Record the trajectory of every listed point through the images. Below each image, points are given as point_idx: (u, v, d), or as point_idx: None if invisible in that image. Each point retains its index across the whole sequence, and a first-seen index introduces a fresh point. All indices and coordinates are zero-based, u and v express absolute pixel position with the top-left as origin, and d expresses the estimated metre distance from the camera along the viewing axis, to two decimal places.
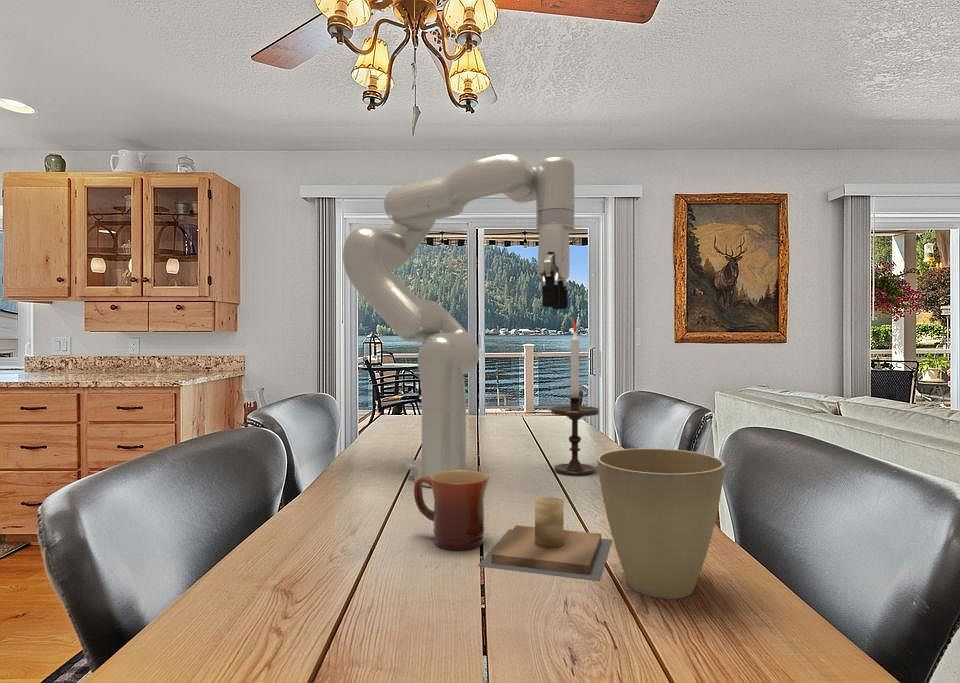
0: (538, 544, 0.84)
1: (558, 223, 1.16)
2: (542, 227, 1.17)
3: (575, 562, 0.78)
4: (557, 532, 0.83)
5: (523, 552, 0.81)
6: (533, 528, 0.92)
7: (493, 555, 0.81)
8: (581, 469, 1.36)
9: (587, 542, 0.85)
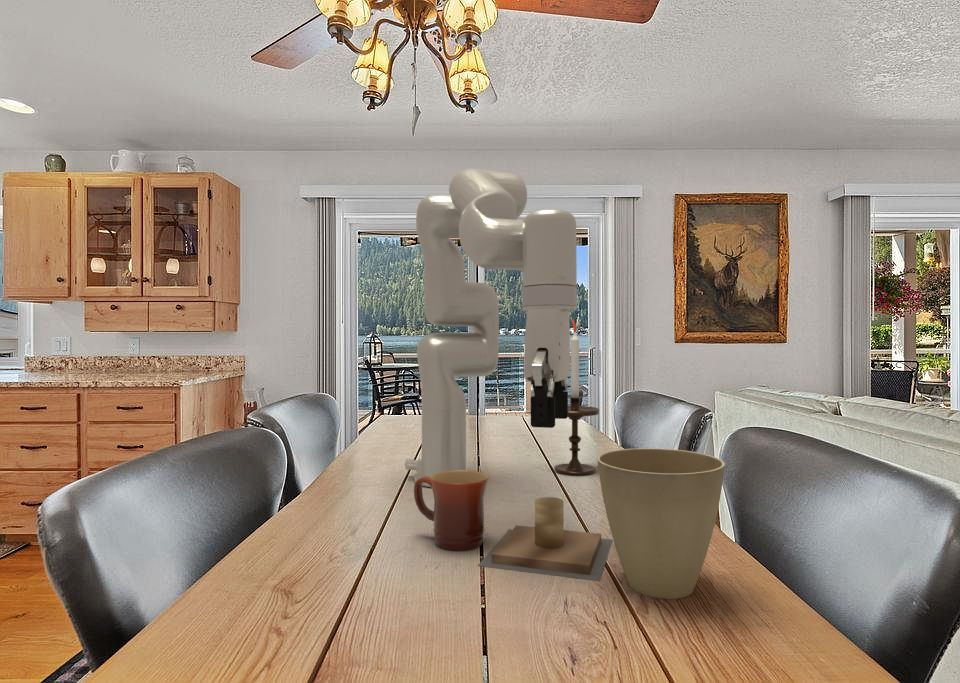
0: (538, 544, 0.84)
1: (553, 305, 0.81)
2: (530, 311, 0.81)
3: (575, 562, 0.78)
4: (557, 532, 0.83)
5: (523, 552, 0.81)
6: (533, 528, 0.92)
7: (493, 555, 0.81)
8: (581, 469, 1.36)
9: (587, 542, 0.85)
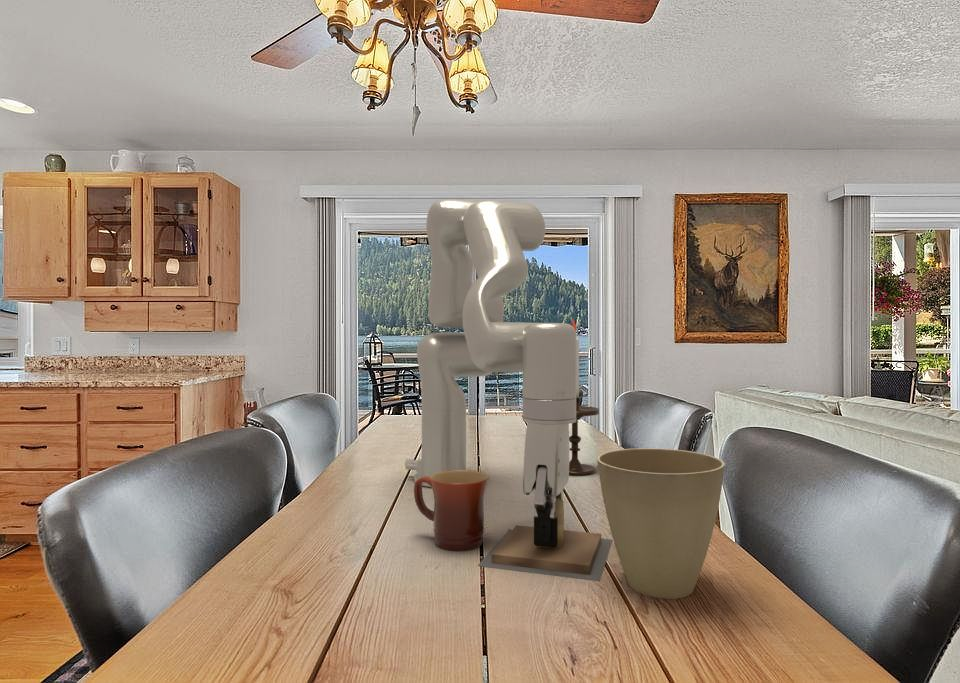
0: None
1: (553, 421, 0.81)
2: (530, 426, 0.81)
3: (575, 562, 0.78)
4: None
5: (523, 552, 0.81)
6: (533, 528, 0.92)
7: (493, 555, 0.81)
8: (581, 469, 1.36)
9: (587, 542, 0.85)
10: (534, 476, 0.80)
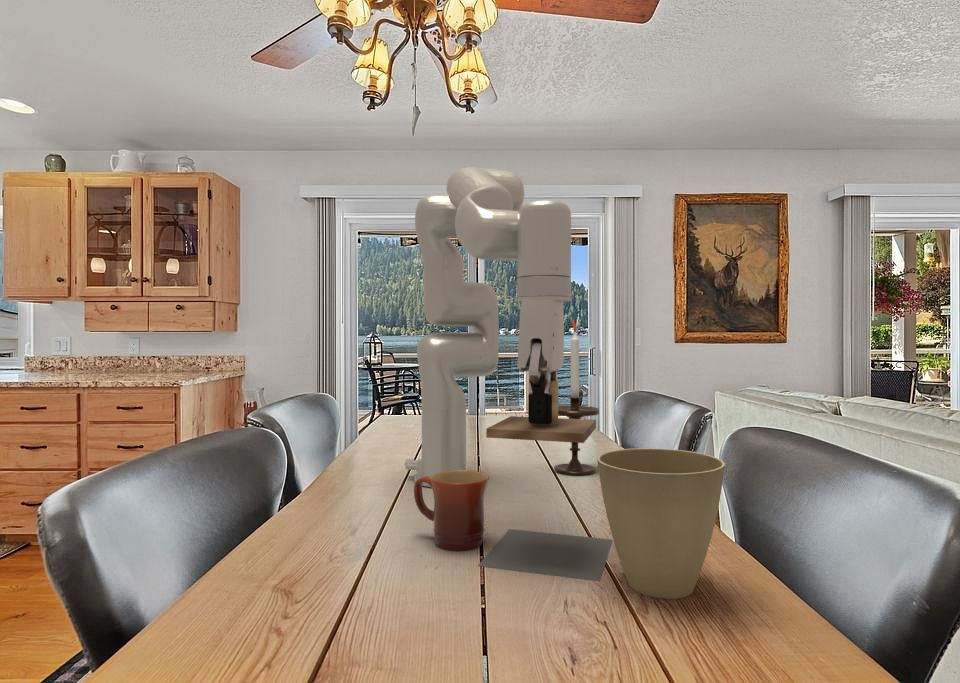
0: None
1: (547, 296, 0.81)
2: (524, 302, 0.81)
3: (570, 432, 0.78)
4: (552, 410, 0.83)
5: (517, 427, 0.82)
6: None
7: (488, 429, 0.81)
8: (581, 469, 1.36)
9: (581, 423, 0.85)
10: (529, 350, 0.80)
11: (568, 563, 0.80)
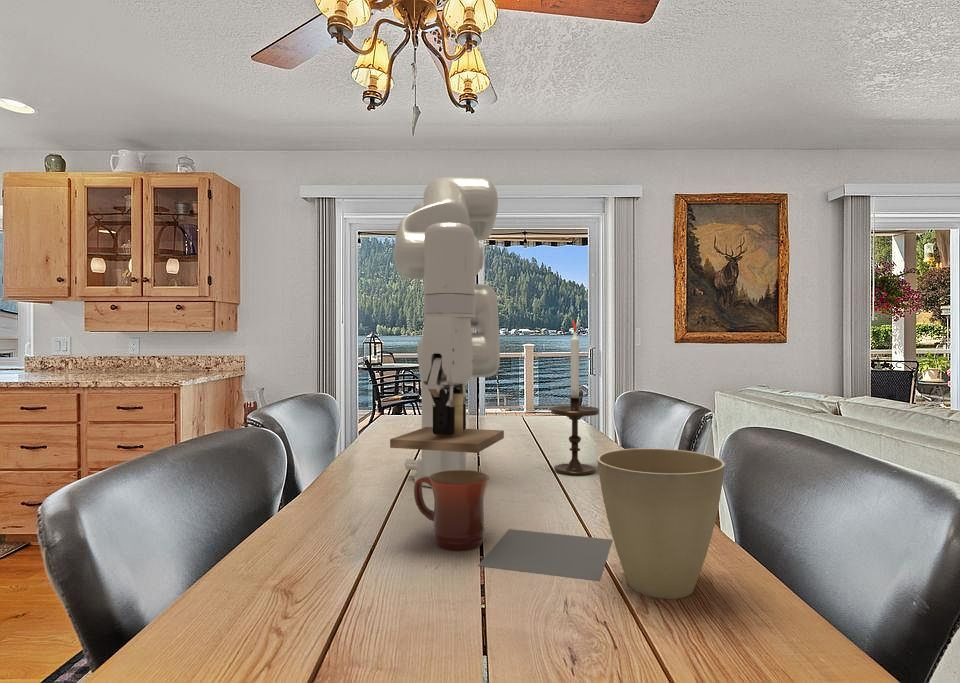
0: (438, 434, 0.88)
1: (448, 313, 0.86)
2: (427, 319, 0.86)
3: (466, 442, 0.82)
4: (455, 421, 0.87)
5: (420, 438, 0.86)
6: None
7: (391, 440, 0.85)
8: (581, 469, 1.36)
9: (486, 434, 0.90)
10: (430, 364, 0.85)
11: (568, 563, 0.80)
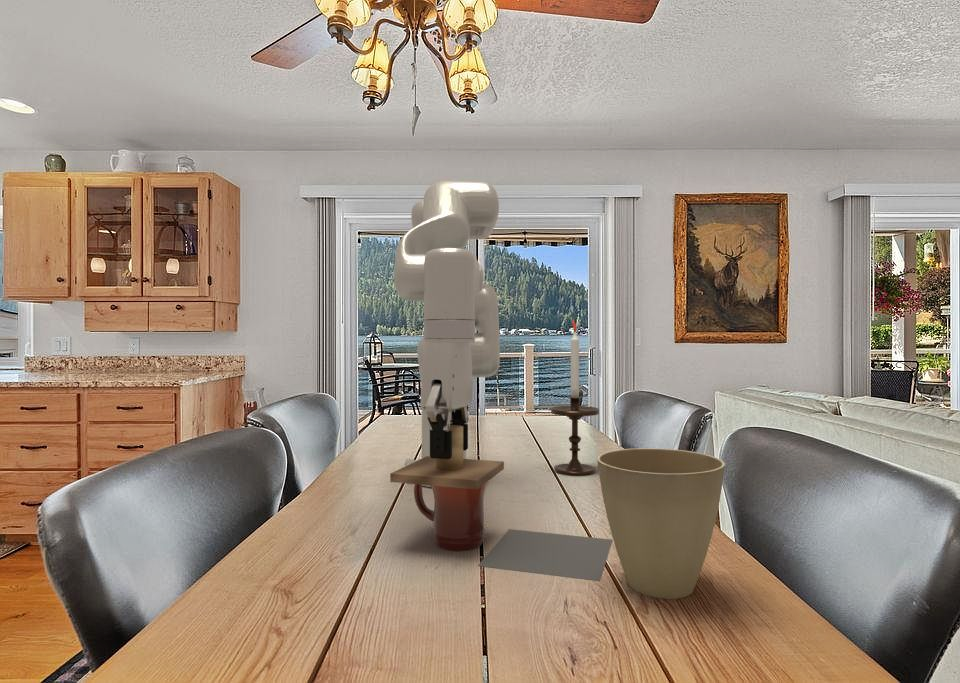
0: (438, 467, 0.88)
1: (448, 339, 0.86)
2: (427, 344, 0.86)
3: (465, 478, 0.82)
4: (455, 454, 0.88)
5: (421, 472, 0.86)
6: None
7: (392, 474, 0.85)
8: (581, 469, 1.36)
9: (486, 466, 0.90)
10: (430, 390, 0.85)
11: (568, 563, 0.80)
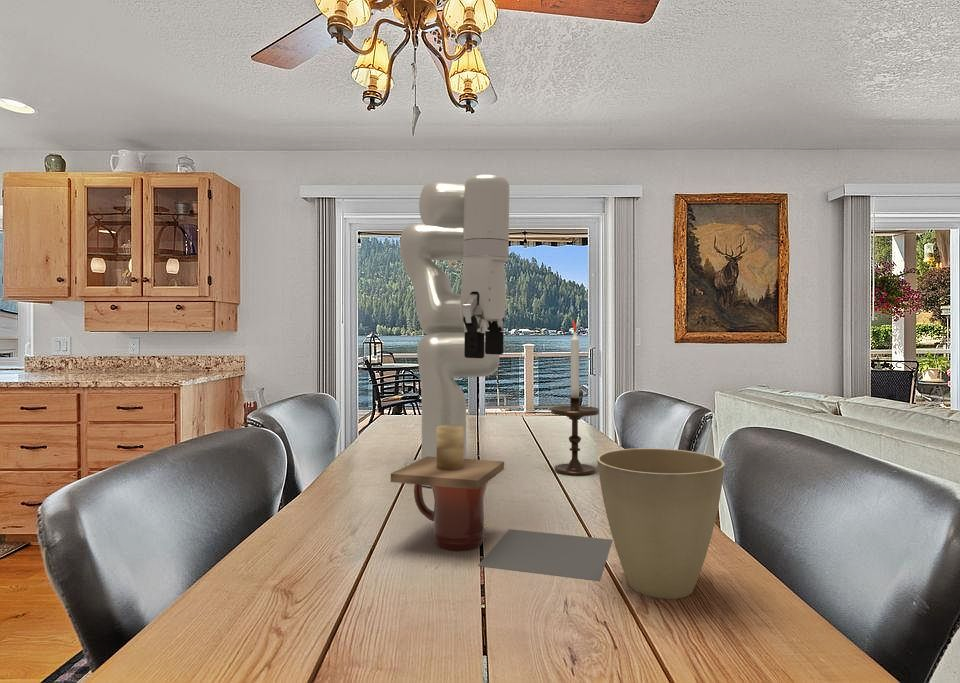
0: (438, 467, 0.88)
1: (485, 256, 0.96)
2: (466, 261, 0.96)
3: (466, 478, 0.82)
4: (455, 455, 0.88)
5: (421, 472, 0.86)
6: None
7: (392, 474, 0.85)
8: (581, 469, 1.36)
9: (486, 466, 0.90)
10: None
11: (568, 563, 0.80)
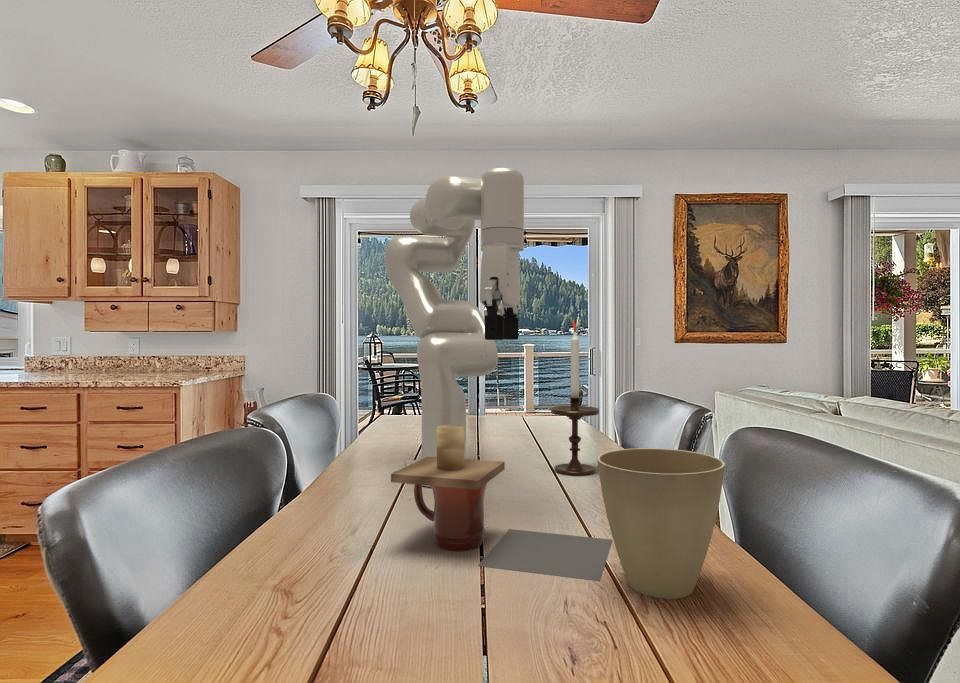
0: (438, 467, 0.88)
1: (503, 244, 1.02)
2: (485, 248, 1.02)
3: (466, 478, 0.82)
4: (456, 455, 0.88)
5: (421, 472, 0.86)
6: None
7: (392, 475, 0.85)
8: (581, 469, 1.36)
9: (486, 467, 0.90)
10: None
11: (568, 563, 0.80)
